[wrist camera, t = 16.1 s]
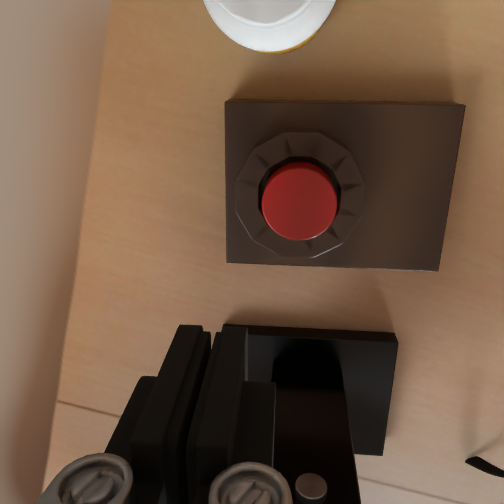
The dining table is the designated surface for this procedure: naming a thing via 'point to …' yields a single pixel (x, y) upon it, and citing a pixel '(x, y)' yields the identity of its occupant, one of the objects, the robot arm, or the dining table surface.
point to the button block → (345, 179)
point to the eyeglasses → (485, 466)
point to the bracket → (324, 404)
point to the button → (299, 201)
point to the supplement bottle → (270, 22)
